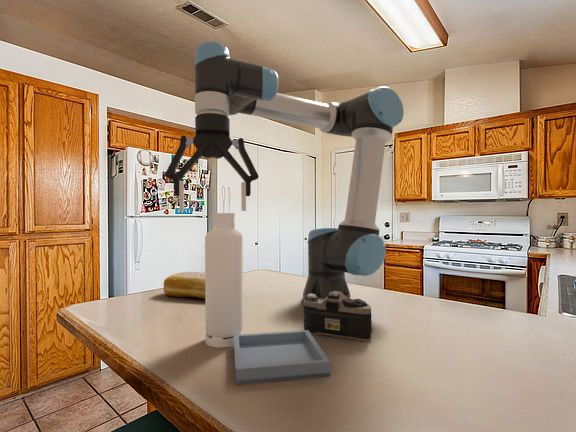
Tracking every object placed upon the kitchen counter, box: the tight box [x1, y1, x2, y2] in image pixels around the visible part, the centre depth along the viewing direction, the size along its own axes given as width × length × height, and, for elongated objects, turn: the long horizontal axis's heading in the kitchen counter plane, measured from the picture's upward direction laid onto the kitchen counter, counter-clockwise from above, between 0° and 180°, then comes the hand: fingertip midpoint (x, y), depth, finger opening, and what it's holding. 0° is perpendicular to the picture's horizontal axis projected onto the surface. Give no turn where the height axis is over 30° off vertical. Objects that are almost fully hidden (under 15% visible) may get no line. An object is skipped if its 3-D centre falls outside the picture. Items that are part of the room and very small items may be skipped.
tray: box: [233, 329, 331, 385], centre depth 64 cm, size 16×16×2 cm
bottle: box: [204, 212, 244, 348], centre depth 74 cm, size 8×8×28 cm
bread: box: [163, 271, 205, 299], centre depth 115 cm, size 13×26×8 cm, turn 75°
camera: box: [303, 291, 373, 343], centre depth 80 cm, size 16×10×10 cm, turn 67°
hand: (213, 211), depth 76 cm, fingers open, 13 cm apart
